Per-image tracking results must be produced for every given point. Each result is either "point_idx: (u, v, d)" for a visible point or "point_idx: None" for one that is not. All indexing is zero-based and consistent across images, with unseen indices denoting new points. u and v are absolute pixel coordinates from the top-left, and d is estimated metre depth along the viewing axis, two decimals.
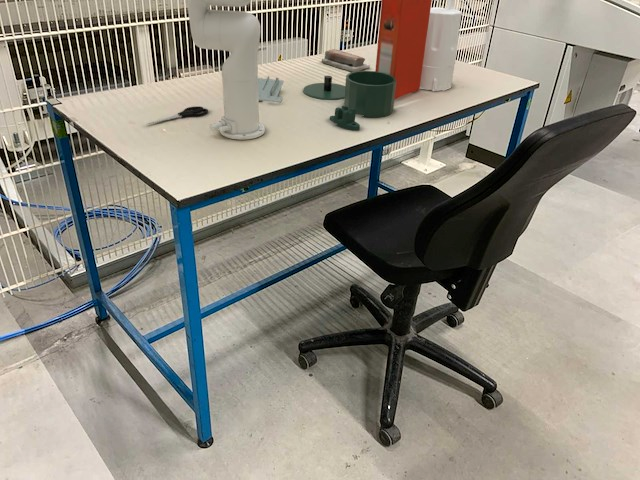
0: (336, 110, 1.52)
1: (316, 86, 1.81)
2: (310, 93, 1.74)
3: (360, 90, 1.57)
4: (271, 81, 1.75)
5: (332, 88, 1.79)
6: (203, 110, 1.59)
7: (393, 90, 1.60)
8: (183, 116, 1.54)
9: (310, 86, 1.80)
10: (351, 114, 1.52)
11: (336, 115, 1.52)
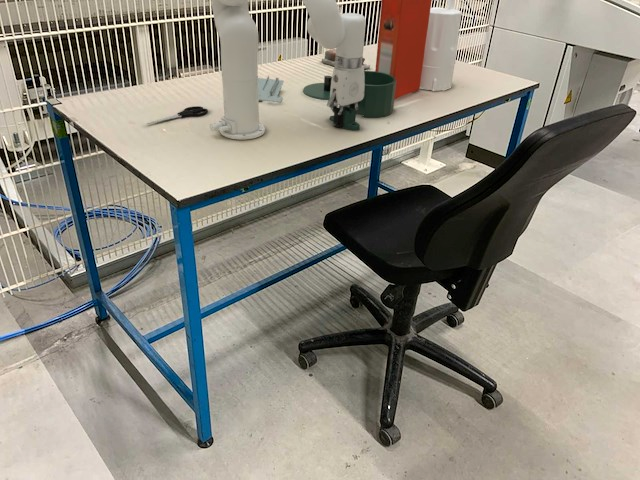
0: None
1: (316, 86, 1.81)
2: (310, 93, 1.74)
3: None
4: (271, 81, 1.75)
5: None
6: (203, 110, 1.59)
7: (393, 90, 1.60)
8: (183, 116, 1.54)
9: (310, 86, 1.80)
10: (351, 114, 1.52)
11: None
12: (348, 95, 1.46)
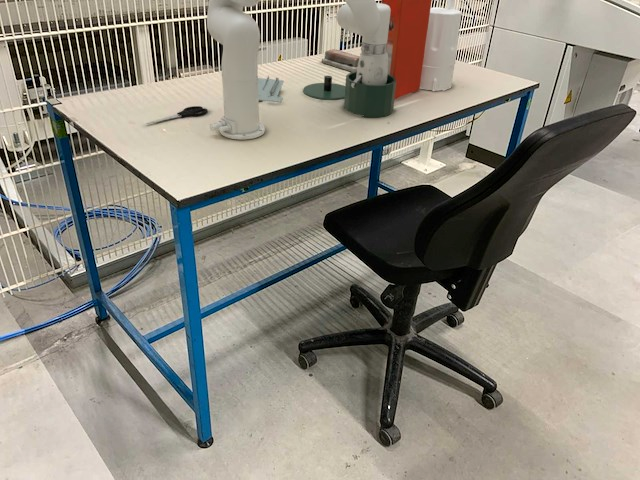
0: None
1: (316, 86, 1.81)
2: (310, 93, 1.74)
3: (360, 90, 1.57)
4: (271, 81, 1.75)
5: (332, 88, 1.79)
6: (203, 110, 1.59)
7: (393, 90, 1.60)
8: (183, 116, 1.54)
9: (310, 86, 1.80)
10: None
11: None
12: (372, 79, 1.58)
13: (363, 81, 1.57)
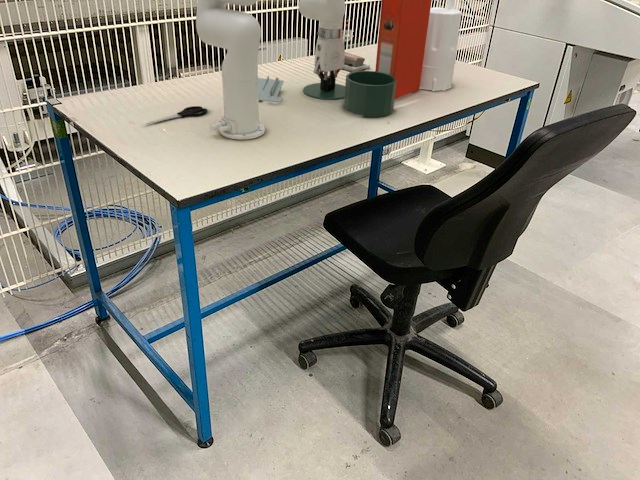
0: None
1: (316, 86, 1.81)
2: (310, 93, 1.74)
3: (360, 90, 1.57)
4: (271, 81, 1.75)
5: None
6: (202, 110, 1.59)
7: (393, 90, 1.60)
8: (182, 116, 1.54)
9: (310, 86, 1.80)
10: None
11: None
12: (329, 62, 1.69)
13: None
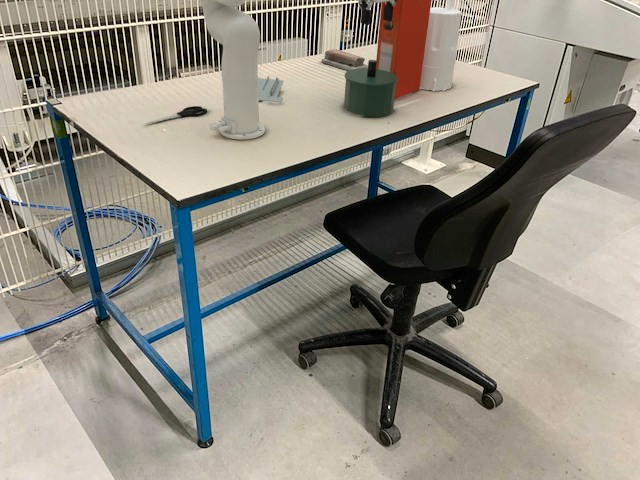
0: None
1: (357, 71, 1.64)
2: (353, 79, 1.57)
3: (360, 90, 1.57)
4: (271, 81, 1.75)
5: (376, 74, 1.63)
6: (202, 110, 1.59)
7: (393, 90, 1.60)
8: (182, 116, 1.54)
9: (351, 72, 1.64)
10: None
11: None
12: None
13: None
